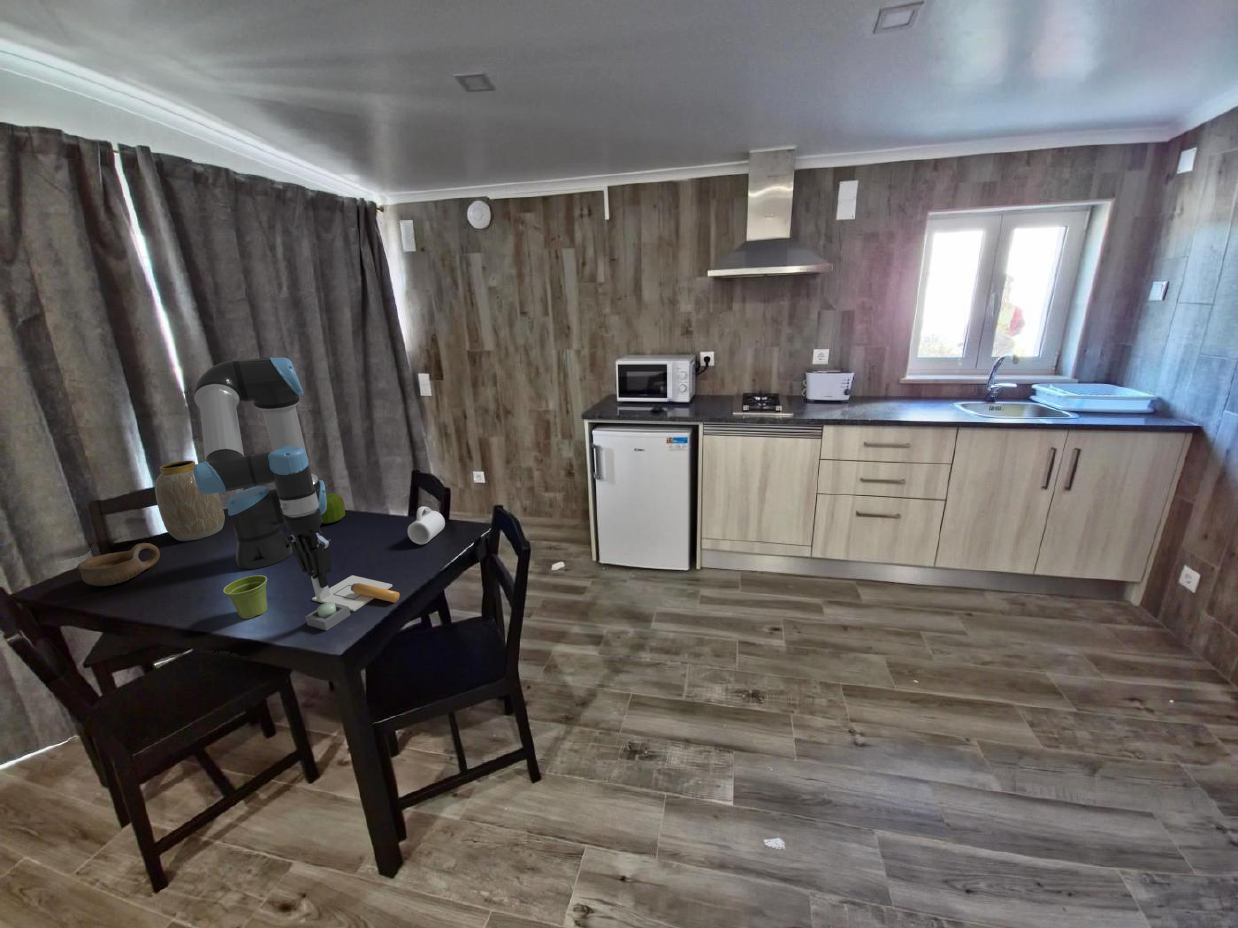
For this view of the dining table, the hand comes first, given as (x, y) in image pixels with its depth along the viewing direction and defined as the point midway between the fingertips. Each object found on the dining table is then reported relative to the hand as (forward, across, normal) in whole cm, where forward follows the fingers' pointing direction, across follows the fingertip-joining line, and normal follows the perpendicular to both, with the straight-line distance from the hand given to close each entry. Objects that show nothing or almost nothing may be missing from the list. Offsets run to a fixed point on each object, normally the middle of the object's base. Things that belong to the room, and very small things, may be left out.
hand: (323, 597), depth 126 cm
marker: (+4, -4, +11) cm, 12 cm away
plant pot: (+7, -23, -4) cm, 25 cm away
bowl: (+7, -83, -5) cm, 84 cm away
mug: (+7, -10, +47) cm, 48 cm away
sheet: (+7, -5, +12) cm, 14 cm away
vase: (+6, -97, +23) cm, 100 cm away
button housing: (+7, 0, 0) cm, 7 cm away
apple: (+7, -58, +47) cm, 75 cm away
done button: (+5, 0, 0) cm, 5 cm away
